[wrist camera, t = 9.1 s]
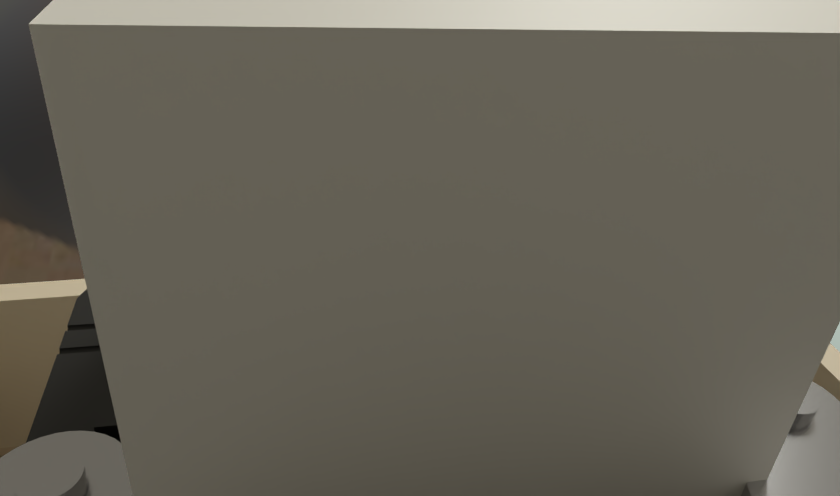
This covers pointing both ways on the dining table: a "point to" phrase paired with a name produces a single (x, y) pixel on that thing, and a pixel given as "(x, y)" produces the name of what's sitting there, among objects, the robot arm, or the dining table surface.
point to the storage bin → (47, 322)
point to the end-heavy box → (451, 238)
